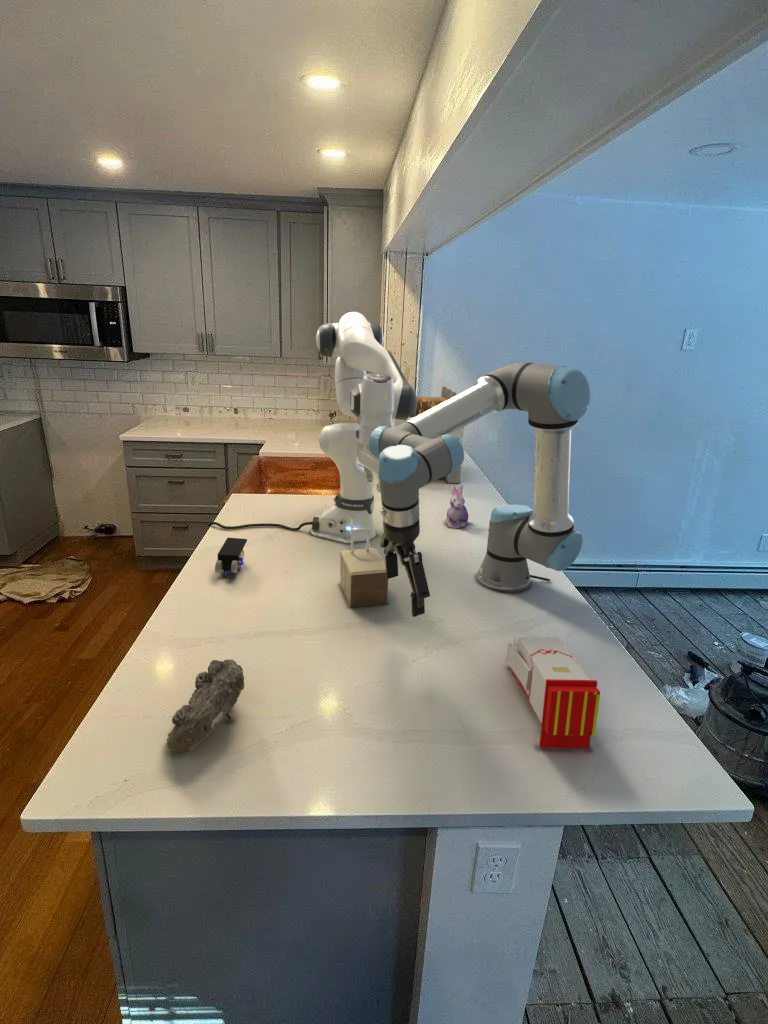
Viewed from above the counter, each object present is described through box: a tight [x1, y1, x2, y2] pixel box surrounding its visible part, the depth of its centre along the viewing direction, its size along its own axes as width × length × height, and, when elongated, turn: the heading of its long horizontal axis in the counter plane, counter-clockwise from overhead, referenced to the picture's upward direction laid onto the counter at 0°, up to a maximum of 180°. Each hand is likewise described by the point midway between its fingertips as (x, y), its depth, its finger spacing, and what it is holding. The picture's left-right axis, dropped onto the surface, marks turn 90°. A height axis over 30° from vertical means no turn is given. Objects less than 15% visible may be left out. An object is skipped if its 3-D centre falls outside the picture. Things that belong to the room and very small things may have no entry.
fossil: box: [166, 658, 245, 754], centre depth 106 cm, size 22×10×15 cm
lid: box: [340, 528, 386, 575], centre depth 153 cm, size 14×10×8 cm
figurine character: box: [214, 537, 248, 578], centre depth 166 cm, size 7×8×15 cm
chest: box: [339, 555, 389, 608], centre depth 156 cm, size 14×10×9 cm
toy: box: [505, 636, 601, 749], centre depth 115 cm, size 12×13×30 cm
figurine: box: [445, 484, 469, 529], centre depth 209 cm, size 9×10×15 cm
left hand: (374, 486), depth 155 cm, fingers open, 8 cm apart
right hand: (404, 594), depth 128 cm, fingers open, 13 cm apart
